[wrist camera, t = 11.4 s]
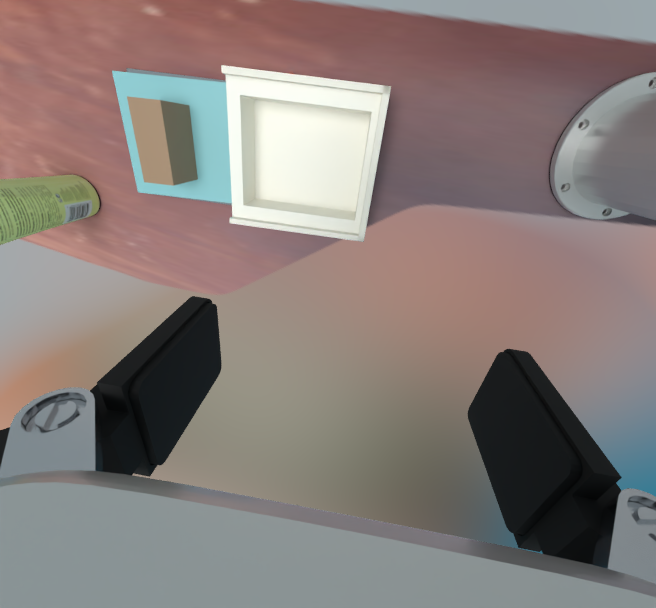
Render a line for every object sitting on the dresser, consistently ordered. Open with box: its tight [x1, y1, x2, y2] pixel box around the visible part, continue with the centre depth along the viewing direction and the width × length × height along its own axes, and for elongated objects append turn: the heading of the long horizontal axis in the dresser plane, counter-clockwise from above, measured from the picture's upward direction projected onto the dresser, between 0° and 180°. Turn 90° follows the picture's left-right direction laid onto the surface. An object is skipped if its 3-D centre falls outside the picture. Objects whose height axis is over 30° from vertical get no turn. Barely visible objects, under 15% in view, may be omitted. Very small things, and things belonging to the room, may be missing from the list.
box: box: [221, 65, 391, 242], centre depth 30 cm, size 14×13×6 cm
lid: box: [112, 71, 232, 203], centre depth 30 cm, size 12×11×6 cm
